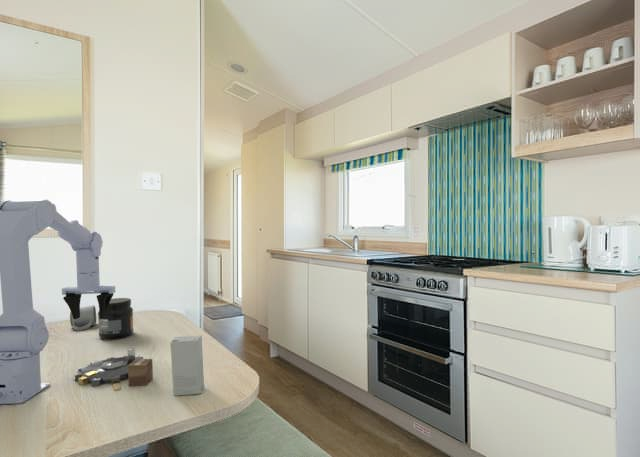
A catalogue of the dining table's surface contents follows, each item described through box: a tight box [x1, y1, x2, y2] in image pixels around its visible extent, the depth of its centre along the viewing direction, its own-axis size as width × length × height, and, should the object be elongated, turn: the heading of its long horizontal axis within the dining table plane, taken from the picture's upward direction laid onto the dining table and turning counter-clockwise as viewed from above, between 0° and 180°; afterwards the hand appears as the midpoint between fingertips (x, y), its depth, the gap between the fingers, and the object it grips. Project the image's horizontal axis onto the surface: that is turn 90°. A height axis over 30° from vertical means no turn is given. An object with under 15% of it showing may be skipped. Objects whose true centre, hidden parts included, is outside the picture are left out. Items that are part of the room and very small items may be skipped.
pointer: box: [112, 383, 121, 392], centre depth 91 cm, size 4×1×1 cm, turn 32°
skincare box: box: [170, 335, 205, 397], centre depth 88 cm, size 6×4×12 cm
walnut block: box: [127, 358, 154, 387], centre depth 93 cm, size 4×4×5 cm
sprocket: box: [74, 347, 144, 387], centre depth 100 cm, size 16×16×4 cm
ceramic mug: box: [69, 305, 97, 331], centre depth 145 cm, size 10×8×7 cm
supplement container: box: [97, 297, 134, 341], centre depth 133 cm, size 10×10×12 cm
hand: (89, 318), depth 116 cm, fingers open, 7 cm apart
